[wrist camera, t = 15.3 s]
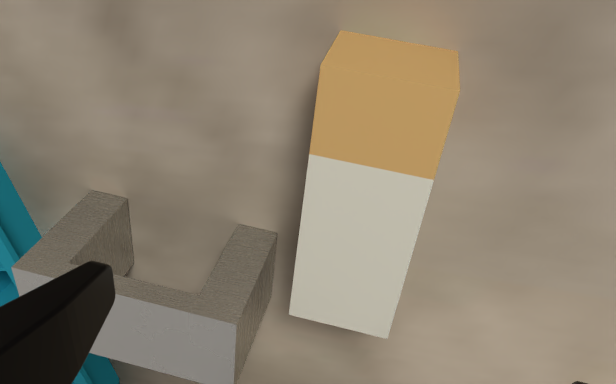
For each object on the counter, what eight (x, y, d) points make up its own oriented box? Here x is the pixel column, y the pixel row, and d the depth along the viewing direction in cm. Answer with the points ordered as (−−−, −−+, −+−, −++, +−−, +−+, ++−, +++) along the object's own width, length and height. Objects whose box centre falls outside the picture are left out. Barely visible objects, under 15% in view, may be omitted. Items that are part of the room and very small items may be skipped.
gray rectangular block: (270, 296, 26) (233, 391, 21) (100, 254, 27) (30, 336, 22) (277, 233, 23) (236, 324, 19) (91, 190, 25) (11, 267, 20)
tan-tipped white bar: (394, 278, 24) (387, 338, 21) (307, 258, 24) (288, 314, 21) (457, 51, 18) (459, 91, 15) (340, 29, 18) (320, 64, 15)
